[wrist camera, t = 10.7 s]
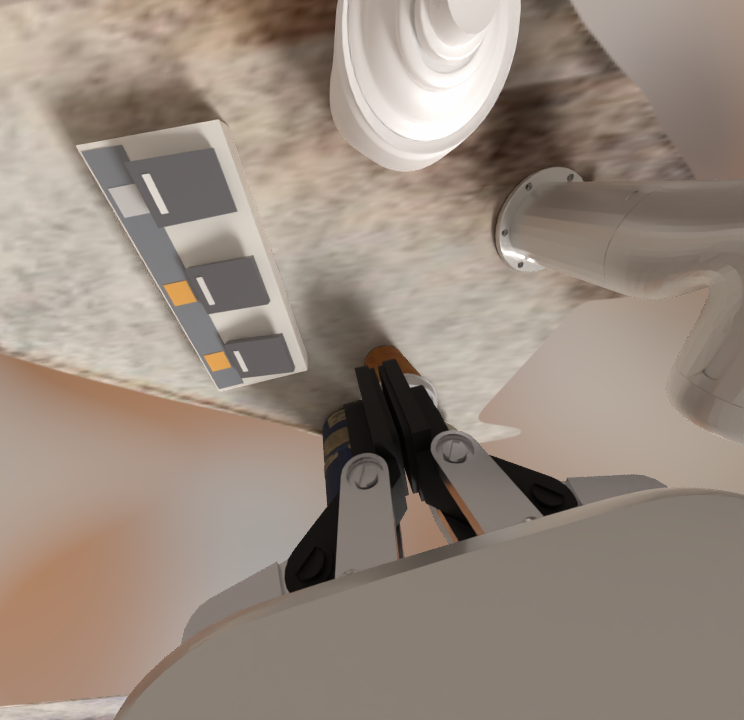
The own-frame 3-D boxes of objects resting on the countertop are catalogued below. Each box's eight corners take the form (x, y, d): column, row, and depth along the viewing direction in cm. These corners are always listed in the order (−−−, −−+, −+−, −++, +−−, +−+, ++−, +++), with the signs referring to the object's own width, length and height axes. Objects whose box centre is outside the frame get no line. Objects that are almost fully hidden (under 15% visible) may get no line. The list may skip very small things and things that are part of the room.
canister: (311, 420, 50) (312, 524, 34) (359, 394, 49) (382, 489, 34) (339, 451, 55) (351, 553, 40) (384, 428, 54) (413, 523, 39)
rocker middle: (253, 255, 30) (249, 257, 29) (270, 301, 32) (267, 304, 31) (189, 266, 30) (183, 269, 29) (211, 310, 33) (207, 314, 32)
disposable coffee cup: (390, 323, 43) (415, 366, 33) (423, 363, 48) (453, 411, 38) (341, 362, 45) (351, 413, 35) (377, 396, 50) (395, 450, 40)
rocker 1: (214, 149, 26) (213, 147, 25) (237, 211, 28) (237, 211, 28) (128, 163, 24) (123, 162, 24) (161, 227, 27) (158, 228, 26)
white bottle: (424, 160, 33) (626, 118, 12) (335, 186, 33) (383, 189, 12) (407, 12, 27) (764, -605, 6) (296, 42, 27) (254, -496, 6)
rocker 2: (282, 333, 34) (279, 337, 33) (295, 367, 37) (293, 372, 36) (227, 340, 35) (223, 345, 34) (244, 373, 38) (240, 378, 37)
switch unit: (229, 126, 29) (216, 117, 25) (307, 355, 43) (307, 373, 39) (103, 150, 28) (69, 144, 24) (226, 375, 42) (218, 395, 38)
